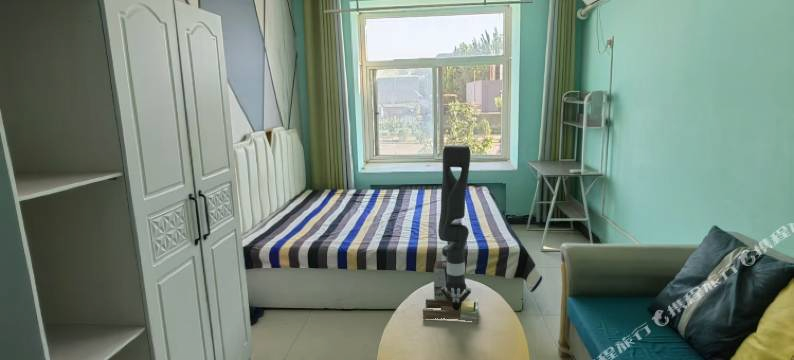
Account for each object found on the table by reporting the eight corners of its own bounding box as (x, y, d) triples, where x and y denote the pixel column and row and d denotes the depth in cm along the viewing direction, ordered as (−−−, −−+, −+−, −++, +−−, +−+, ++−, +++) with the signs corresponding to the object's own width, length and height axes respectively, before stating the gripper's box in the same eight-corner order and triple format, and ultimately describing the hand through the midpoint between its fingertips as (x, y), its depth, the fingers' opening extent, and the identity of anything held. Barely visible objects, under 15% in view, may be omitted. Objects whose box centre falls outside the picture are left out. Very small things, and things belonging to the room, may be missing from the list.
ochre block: (462, 309, 194) (462, 300, 193) (474, 310, 193) (474, 301, 192) (461, 315, 189) (461, 306, 188) (473, 316, 188) (473, 307, 187)
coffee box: (448, 302, 205) (447, 268, 201) (434, 301, 206) (433, 268, 202) (450, 292, 213) (449, 260, 210) (436, 292, 215) (435, 260, 211)
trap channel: (426, 308, 200) (425, 295, 199) (478, 311, 196) (478, 298, 195) (423, 319, 191) (422, 306, 189) (477, 323, 186) (477, 309, 185)
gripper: (472, 268, 190) (472, 306, 194) (440, 266, 193) (441, 304, 197) (471, 275, 183) (471, 314, 187) (438, 274, 186) (439, 312, 190)
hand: (456, 309), depth 192 cm, fingers closed
